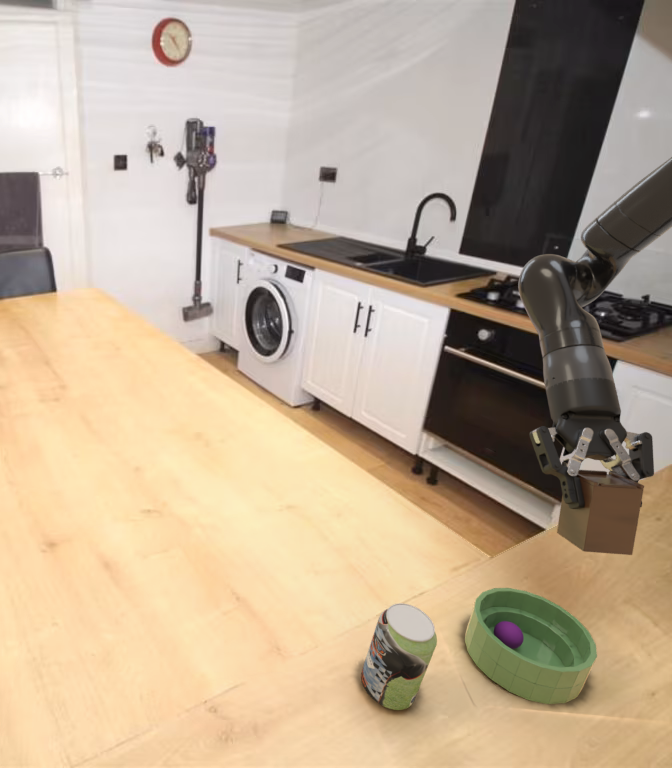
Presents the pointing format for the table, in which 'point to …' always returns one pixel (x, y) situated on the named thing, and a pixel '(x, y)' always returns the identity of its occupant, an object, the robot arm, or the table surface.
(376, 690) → the beverage can
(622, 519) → the ball stand
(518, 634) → the ball
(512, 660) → the bowl
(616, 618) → the table surface
